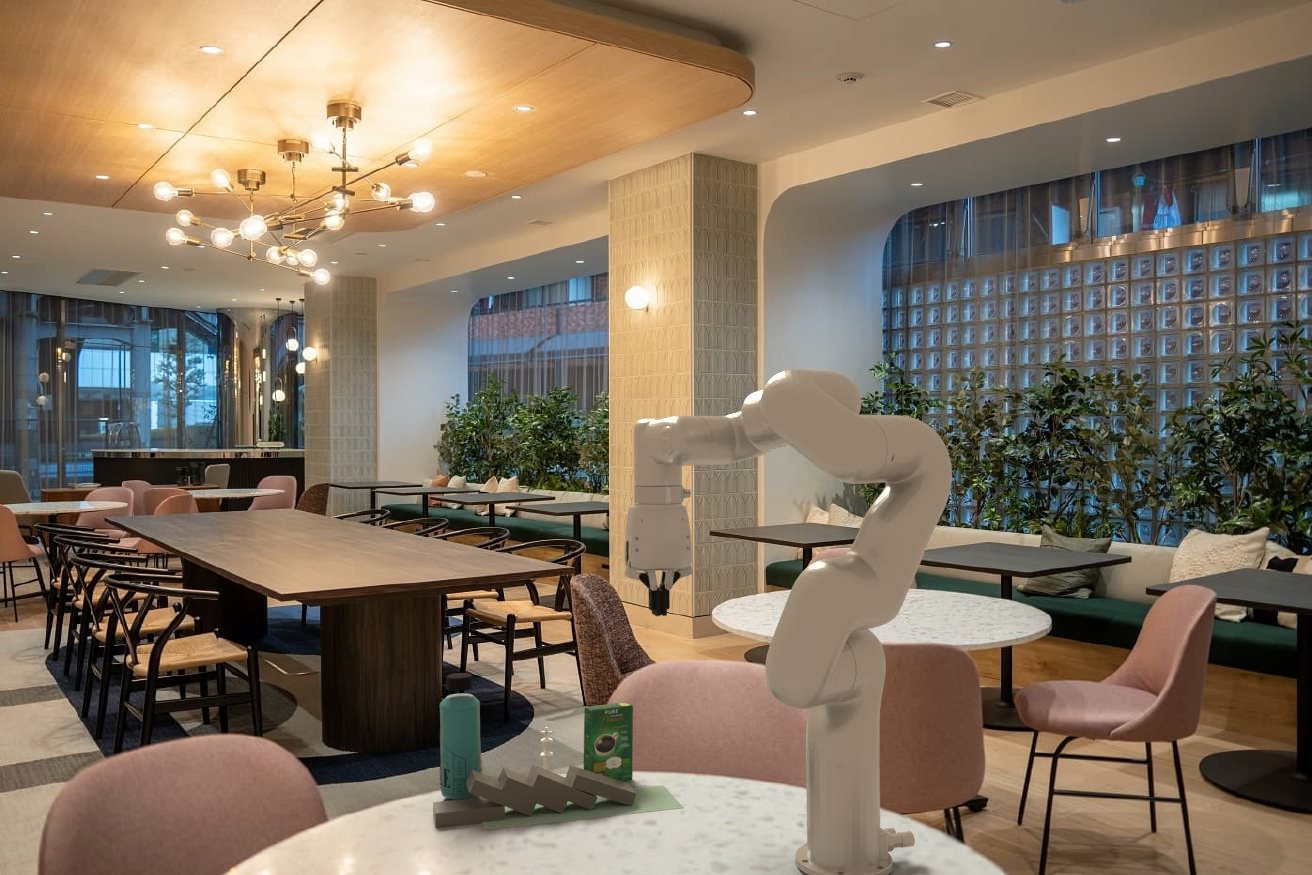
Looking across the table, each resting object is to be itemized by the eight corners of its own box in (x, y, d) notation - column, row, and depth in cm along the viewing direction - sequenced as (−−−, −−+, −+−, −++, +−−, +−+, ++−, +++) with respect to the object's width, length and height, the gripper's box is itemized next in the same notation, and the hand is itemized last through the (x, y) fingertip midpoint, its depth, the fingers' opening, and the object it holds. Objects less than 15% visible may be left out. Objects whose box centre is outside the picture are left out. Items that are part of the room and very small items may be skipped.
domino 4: (590, 787, 161) (532, 764, 159) (597, 797, 156) (538, 774, 154) (585, 799, 161) (527, 776, 158) (592, 810, 156) (532, 786, 154)
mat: (663, 788, 167) (663, 785, 167) (683, 811, 157) (683, 807, 157) (476, 808, 159) (476, 804, 159) (484, 833, 149) (484, 829, 149)
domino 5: (628, 783, 163) (570, 764, 160) (636, 793, 158) (576, 774, 155) (623, 795, 163) (565, 777, 160) (631, 806, 158) (571, 787, 155)
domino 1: (500, 795, 157) (433, 802, 154) (504, 806, 152) (435, 813, 150) (500, 808, 157) (433, 815, 154) (504, 819, 152) (435, 827, 150)
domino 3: (561, 790, 160) (503, 767, 157) (568, 800, 155) (507, 777, 153) (556, 802, 160) (497, 779, 157) (562, 813, 155) (502, 790, 152)
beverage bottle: (490, 799, 163) (489, 672, 163) (461, 812, 157) (460, 680, 158) (459, 792, 167) (459, 668, 167) (430, 804, 161) (429, 675, 161)
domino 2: (531, 792, 159) (471, 769, 156) (536, 803, 154) (475, 779, 151) (525, 805, 158) (465, 781, 156) (530, 816, 153) (469, 792, 151)
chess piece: (557, 795, 165) (556, 732, 165) (527, 793, 166) (527, 730, 166) (566, 785, 170) (565, 724, 170) (537, 783, 171) (536, 722, 171)
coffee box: (626, 778, 173) (625, 699, 173) (634, 783, 170) (633, 703, 170) (582, 786, 169) (582, 706, 169) (590, 791, 166) (589, 709, 166)
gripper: (696, 495, 168) (697, 608, 168) (606, 497, 164) (607, 613, 163) (711, 497, 161) (712, 615, 160) (617, 499, 156) (618, 621, 156)
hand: (659, 614), depth 162 cm, fingers closed
